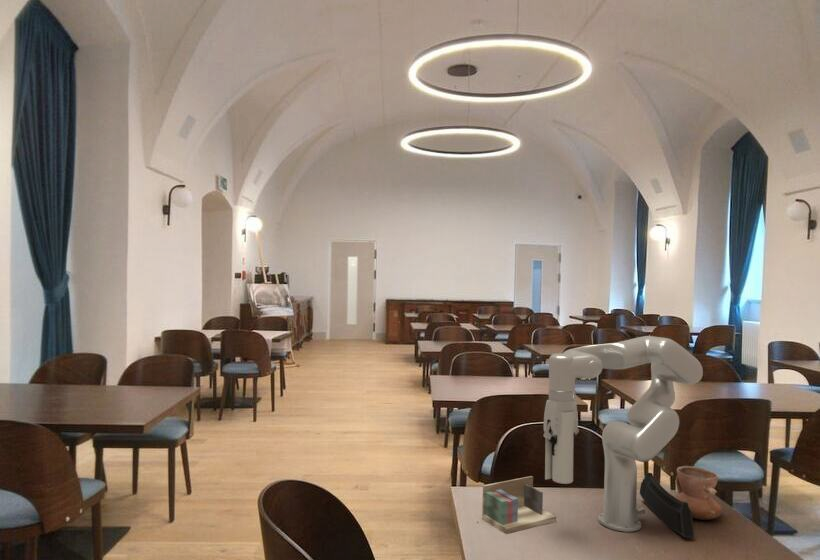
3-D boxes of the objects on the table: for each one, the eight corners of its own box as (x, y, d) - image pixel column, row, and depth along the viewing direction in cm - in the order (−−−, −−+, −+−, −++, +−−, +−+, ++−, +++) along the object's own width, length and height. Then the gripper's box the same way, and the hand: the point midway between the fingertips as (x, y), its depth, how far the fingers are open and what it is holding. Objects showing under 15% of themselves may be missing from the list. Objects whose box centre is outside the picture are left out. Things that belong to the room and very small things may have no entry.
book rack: (482, 518, 177) (482, 485, 177) (530, 507, 187) (531, 475, 187) (506, 533, 166) (507, 498, 166) (556, 521, 176) (557, 487, 176)
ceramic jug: (734, 525, 176) (735, 480, 177) (692, 526, 174) (692, 480, 175) (697, 503, 194) (698, 462, 194) (659, 504, 192) (659, 463, 193)
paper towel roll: (576, 480, 167) (577, 409, 167) (567, 486, 163) (568, 412, 162) (554, 474, 172) (554, 405, 172) (544, 480, 167) (545, 408, 167)
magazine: (699, 514, 162) (654, 454, 191) (688, 514, 162) (645, 453, 191) (689, 562, 167) (647, 496, 196) (678, 562, 167) (638, 496, 196)
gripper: (572, 390, 174) (572, 449, 175) (532, 396, 166) (531, 457, 167) (591, 395, 168) (590, 456, 168) (549, 400, 160) (549, 464, 160)
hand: (561, 456), depth 167 cm, fingers closed on paper towel roll, 3 cm apart
